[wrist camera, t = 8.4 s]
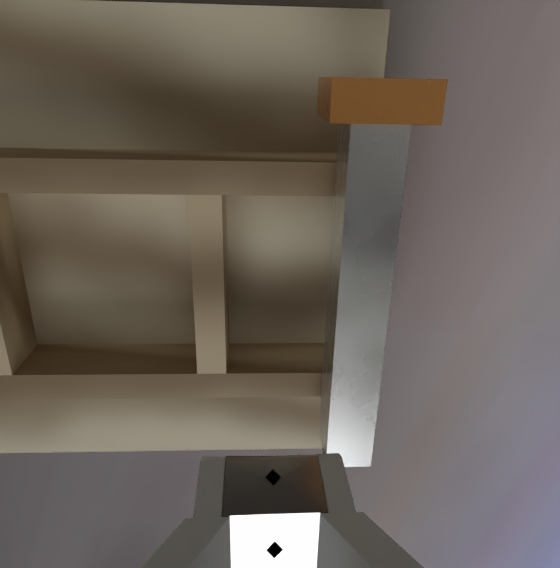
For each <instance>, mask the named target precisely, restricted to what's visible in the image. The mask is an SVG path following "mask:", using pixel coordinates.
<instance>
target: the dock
mask: <svg viewBox="0 0 560 568" xmlns="http://www.w3.org/2000/svg"><path fill="white" fill-rule="evenodd" d="M389 19H390V9H358V8H325V7H292V6H258V5H225V4H192V3H159V2H126V1H93V0H0V453H41V452H107V451H172V450H237V449H303V448H322V445H321V439H320V434H319V420H320V405H321V389H322V374H323V358H324V343H325V328H326V312H327V297H328V281H329V266H330V250H331V235H332V220H333V204H334V189H335V173H336V158H337V142H338V127H339V123H328V122H327V121H325V120H324V119H322V118H320V117H319V116H317V95H318V77H358V78H384V71H385V61H386V51H387V40H388V30H389Z"/></svg>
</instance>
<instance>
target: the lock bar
mask: <svg viewBox="0 0 560 568" xmlns="http://www.w3.org/2000/svg"><path fill="white" fill-rule="evenodd" d="M447 82H448V80H445V79H402V78H358V77H318V95H317V116H319V117H320V118H322V119H324V120H325V121H327V122H328V123H339V127H338V142H337V158H336V173H335V189H334V204H333V220H332V235H331V250H330V266H329V281H328V297H327V312H326V328H325V343H324V358H323V374H322V389H321V405H320V420H319V434H320V439H321V445H322V451H323V454H330V453H339V454H340V455H341V456H342V459H343V463H344V467H366V466H371V458H372V449H373V441H374V433H375V425H376V416H377V408H378V400H379V391H380V383H381V375H382V367H383V358H384V350H385V342H386V333H387V325H388V317H389V309H390V300H391V292H392V284H393V275H394V267H395V259H396V250H397V242H398V234H399V226H400V217H401V209H402V201H403V192H404V184H405V176H406V168H407V159H408V151H409V143H410V134H411V126H412V125H441V123H442V116H443V109H444V102H445V95H446V89H447Z"/></svg>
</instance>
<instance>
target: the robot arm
mask: <svg viewBox="0 0 560 568" xmlns="http://www.w3.org/2000/svg"><path fill="white" fill-rule="evenodd" d="M141 568H424V567H422V566H421V565H420V564H419V563H418V562H417V561H416V560H415V559H414V558H413V557H411V556H410V555H409V554H408V553H407V552H406V551H405V550H404V549H403V548H402V547H401V546H399V545H398V544H397V543H396V542H395V541H394V540H393V539H392V538H391V537H390V536H389V535H387V534H386V533H385V532H384V531H383V530H382V529H381V528H380V527H379V526H378V525H376V524H375V523H374V522H373V521H372V520H371V519H370V518H369V517H368V516H367V515H366V514H364V513H363V512H357V513H356V510H355V506H354V502H353V498H352V494H351V490H350V487H349V483H348V479H347V475H346V471H345V467H344V463H343V459H342V456H341V455H340V454H339V453H330V454H317V455H287V456H226V457H202V459H201V461H200V468H199V476H198V483H197V491H196V499H195V507H194V514H193V518H186V519H185V520H184V521H183V522H182V523H181V524H180V525H179V526H178V527H177V529H176V530H175V531H174V532H173V533H172V534H171V535H170V536H169V537H168V538H167V540H166V541H165V542H164V543H163V544H162V545H161V546H160V547H159V548H158V549H157V551H156V552H155V553H154V554H153V555H152V556H151V557H150V558H149V559H148V560H147V561H146V563H145V564H144V565H143V566H142V567H141Z"/></svg>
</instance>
